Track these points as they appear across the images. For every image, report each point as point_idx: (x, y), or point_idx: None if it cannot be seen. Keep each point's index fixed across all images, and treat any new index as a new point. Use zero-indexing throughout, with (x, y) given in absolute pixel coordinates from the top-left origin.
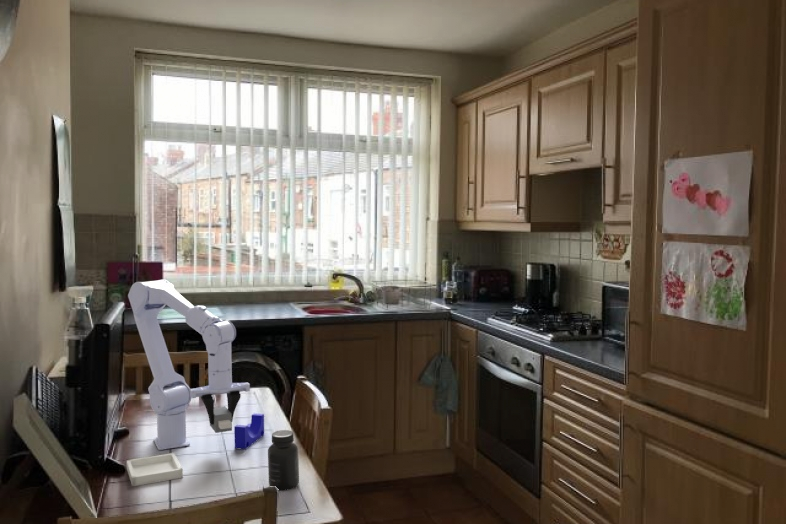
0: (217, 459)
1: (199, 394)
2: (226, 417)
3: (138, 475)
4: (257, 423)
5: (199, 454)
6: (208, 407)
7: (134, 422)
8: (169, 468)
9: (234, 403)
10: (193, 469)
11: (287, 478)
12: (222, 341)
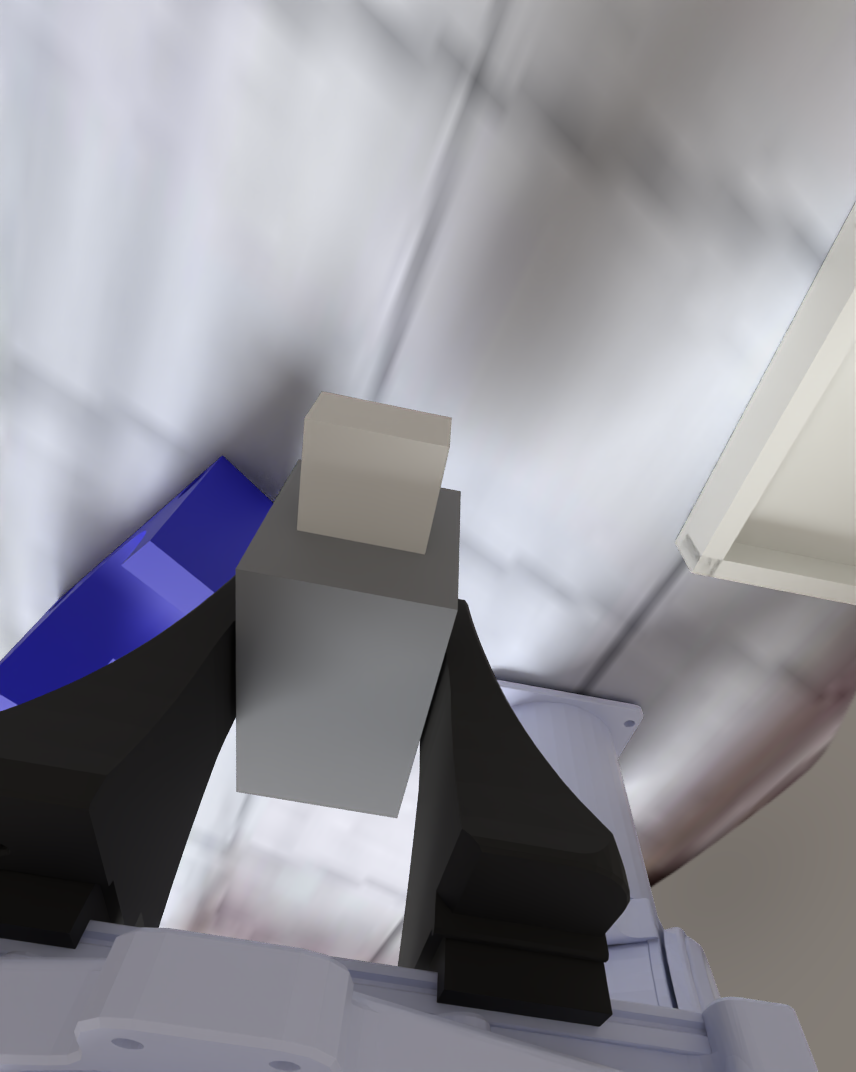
0: (454, 396)
1: (642, 1053)
2: (319, 552)
3: None
4: (51, 652)
5: (504, 545)
6: (529, 754)
7: None
8: (819, 411)
9: (121, 691)
10: (686, 318)
11: None
12: None
